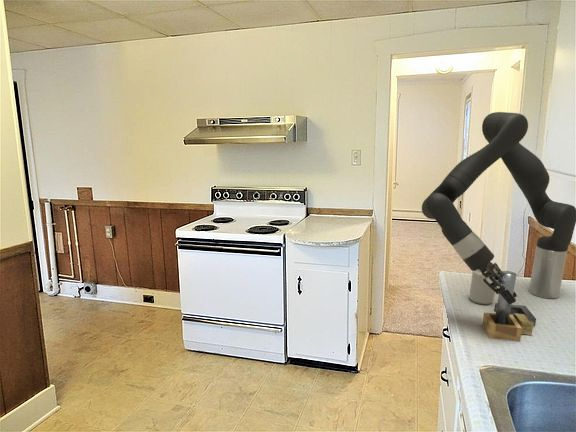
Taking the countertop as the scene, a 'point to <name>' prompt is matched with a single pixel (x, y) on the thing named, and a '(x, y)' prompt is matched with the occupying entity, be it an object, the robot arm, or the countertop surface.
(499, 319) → the grey capsule rod
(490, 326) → the brown square frame
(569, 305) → the countertop surface
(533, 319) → the socket block
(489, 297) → the can
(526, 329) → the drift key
